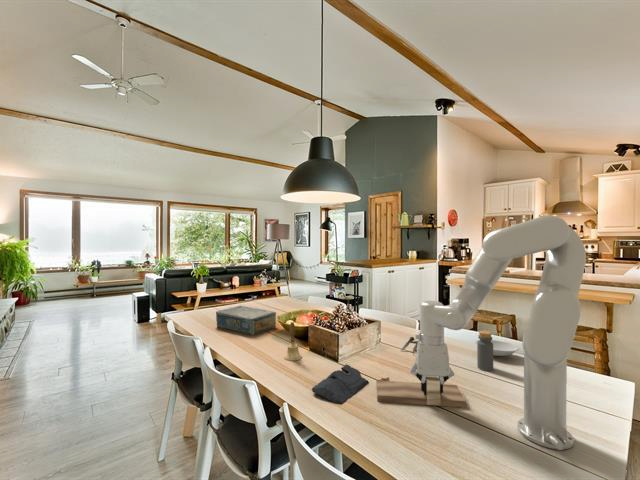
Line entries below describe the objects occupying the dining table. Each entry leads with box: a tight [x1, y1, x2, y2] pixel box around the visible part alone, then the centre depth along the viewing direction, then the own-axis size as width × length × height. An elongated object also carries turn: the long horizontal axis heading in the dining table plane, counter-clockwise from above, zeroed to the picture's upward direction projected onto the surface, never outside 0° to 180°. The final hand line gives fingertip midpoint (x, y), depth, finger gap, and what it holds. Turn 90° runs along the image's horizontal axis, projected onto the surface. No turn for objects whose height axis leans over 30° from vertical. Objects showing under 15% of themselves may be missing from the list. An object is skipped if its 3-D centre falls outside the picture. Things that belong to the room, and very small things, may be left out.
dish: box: [474, 339, 520, 357], centre depth 143 cm, size 18×14×5 cm
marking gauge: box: [425, 376, 441, 407], centre depth 106 cm, size 10×4×8 cm, turn 171°
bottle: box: [476, 330, 494, 372], centre depth 130 cm, size 6×6×15 cm
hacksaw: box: [400, 336, 420, 357], centre depth 155 cm, size 24×10×2 cm, turn 150°
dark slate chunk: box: [311, 364, 369, 405], centre depth 115 cm, size 15×22×5 cm
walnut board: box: [375, 379, 467, 408], centre depth 108 cm, size 11×28×2 cm, turn 81°
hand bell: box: [283, 321, 303, 362], centre depth 143 cm, size 8×8×16 cm
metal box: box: [215, 305, 277, 336], centre depth 192 cm, size 21×32×10 cm, turn 56°
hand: (431, 393), depth 104 cm, fingers closed on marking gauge, 4 cm apart
